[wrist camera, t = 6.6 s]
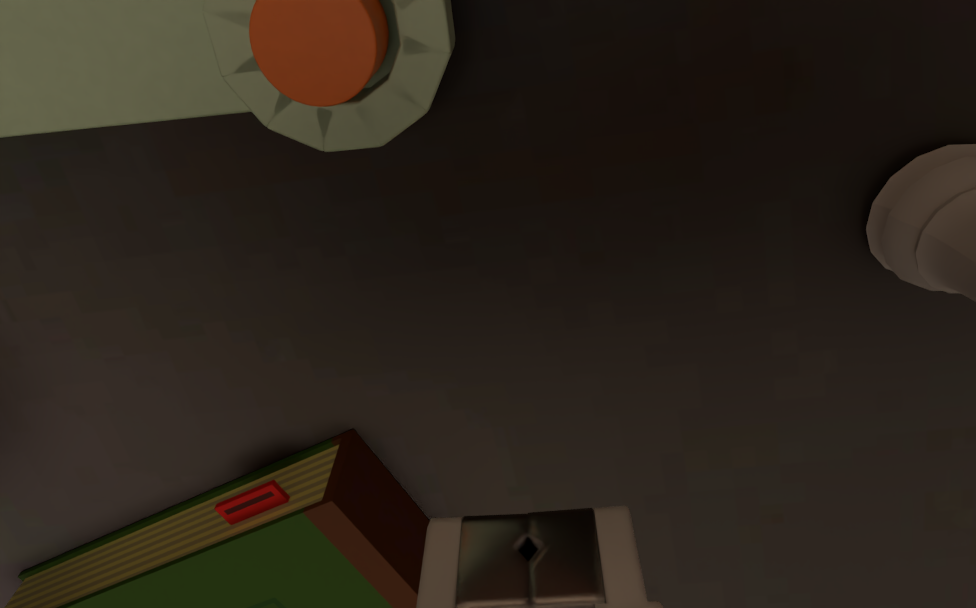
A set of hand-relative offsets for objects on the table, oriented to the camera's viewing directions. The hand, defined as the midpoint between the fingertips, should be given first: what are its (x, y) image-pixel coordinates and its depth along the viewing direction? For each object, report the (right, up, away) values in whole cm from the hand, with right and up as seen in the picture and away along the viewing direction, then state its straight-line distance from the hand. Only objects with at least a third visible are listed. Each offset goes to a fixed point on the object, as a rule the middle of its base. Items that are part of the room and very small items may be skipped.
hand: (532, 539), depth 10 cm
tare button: (-4, +10, +6) cm, 13 cm away
